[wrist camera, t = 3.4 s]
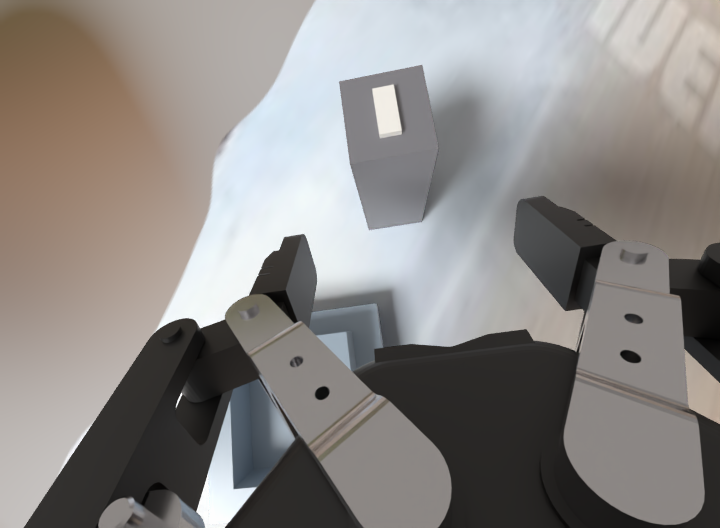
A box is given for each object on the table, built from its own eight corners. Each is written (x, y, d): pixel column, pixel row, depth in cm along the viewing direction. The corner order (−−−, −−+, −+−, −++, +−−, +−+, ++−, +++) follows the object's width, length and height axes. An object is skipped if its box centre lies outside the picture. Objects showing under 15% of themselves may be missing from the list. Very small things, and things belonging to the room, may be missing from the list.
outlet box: (220, 326, 24) (180, 326, 20) (377, 305, 23) (373, 300, 18) (226, 506, 21) (182, 552, 17) (403, 491, 20) (405, 535, 16)
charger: (361, 177, 25) (338, 76, 15) (412, 168, 25) (422, 59, 15) (369, 230, 24) (349, 160, 14) (421, 221, 24) (439, 144, 14)
